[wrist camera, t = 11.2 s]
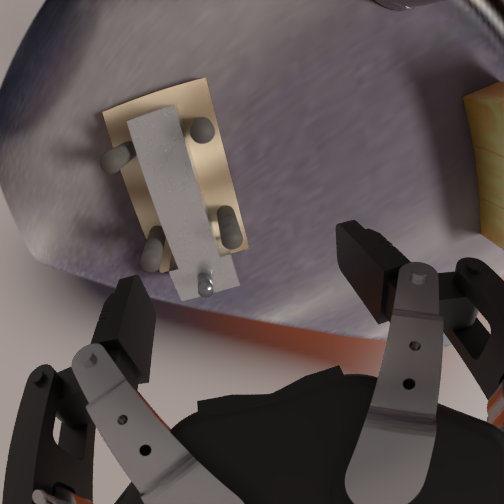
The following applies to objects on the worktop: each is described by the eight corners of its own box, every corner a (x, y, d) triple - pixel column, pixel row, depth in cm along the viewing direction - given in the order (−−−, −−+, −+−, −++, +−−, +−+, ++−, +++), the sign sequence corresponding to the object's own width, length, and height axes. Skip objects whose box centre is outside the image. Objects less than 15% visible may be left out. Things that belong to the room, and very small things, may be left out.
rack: (106, 111, 23) (78, 115, 17) (205, 78, 24) (207, 69, 18) (161, 267, 32) (155, 307, 26) (247, 243, 33) (259, 279, 26)
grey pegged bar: (126, 122, 23) (108, 127, 18) (188, 101, 24) (185, 100, 18) (182, 279, 32) (181, 314, 27) (234, 264, 32) (242, 297, 27)
